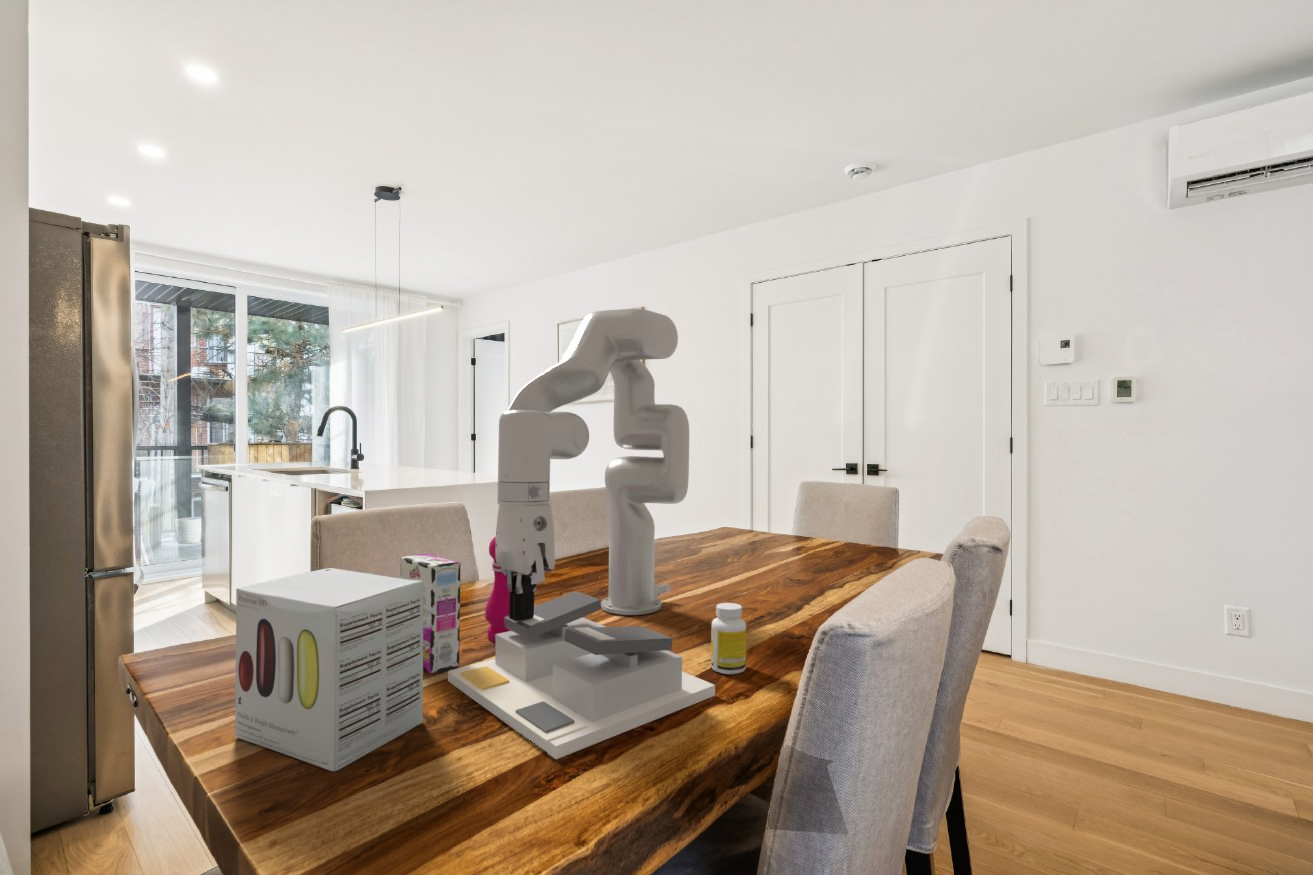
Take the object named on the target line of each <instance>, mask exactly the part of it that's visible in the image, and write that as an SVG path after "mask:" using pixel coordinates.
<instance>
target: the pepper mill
mask: <svg viewBox="0 0 1313 875" xmlns="http://www.w3.org/2000/svg"><path fill="white" fill-rule="evenodd" d="M495 545H496V536H494V537H493V538H492V539H491V541H490V543H489V546H488V553H489V555H490V557H491V558H492V560H493V561H492V562H491V570H492V571H493V576H494V579H493V580H494V582H493V588H492V591H491V593H490V596H489V598H488V600H487V602H486V606H485V609H484V610H485V611H484V617H485V620H486V621H487V623H488V624H489V626H488V628H487V639H488V640H489V641H491V642H493V643H495V634H499V633H504V632H508V631H511V630H509V629H507V628H505V623H504V617H507V616H509V592H512V591H509V590H508V581H507V576H506V575H505V574H504V573H502V571H501V566H499V565H498V564H497V562H496V554H495Z"/></svg>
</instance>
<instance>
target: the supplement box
mask: <svg viewBox="0 0 1313 875" xmlns="http://www.w3.org/2000/svg"><path fill="white" fill-rule="evenodd" d="M400 577H401V576H391V575H384V574H380V573H379V574H378V573H371V572H362V571H355V570H349V569H343V568H342V569H341V568H333V567H329V568H321V569H318V570H313V571H308V572H303V573H297V574H294V575H289V576H284V577H280V578H276V579H275V578H274V579H272V580H271V579H270V580H267V581H262V582H257V583H254V584H248V585H244V586H241V587H237V588H236V589H235V591H236V593H235V596H236V600H235V601H236V602H235V610H236V611H235V612H236V613H235V616H236V617H235V618H236V619H235V681H234V682H235V687H234V688H235V691H234V692H235V696H234V698H235V699H234V703H235V704H234V705H235V706H234V715H235V716H234V717H235V719H234V720H235V722H234V723H235V724H234V736H235V739H240V740H243V741H246V742H249V743H252V744H254V745H257V746H260V747H263V748H266V749H269V750H271V751H274V752H277V753H280V754H283V755H286V756H288V757H292V758H295V759H298V760H300V761H301V762H305V763H309V764H311V765H313V766H317V767H319V768H322V769H324V770H326V771H329V772H336V771H339V770H341V769H342V768H344V767H346V766H348V765H350V764H351V763H353V762H355V761H357V760H359V759H360V758H362V757H364V756H366V755H367V754H369V753H371V752H373V751H375V750H377V749H379V748H381V747H382V746H384V745H386V744H387V743H389V742H391V741H393V740H394V739H396V738H398V737H401V736H402V735H403V734H405V733H407V732H409V731H410V730H413V729H414V728H416V727H417V726H419V725H421V724H423V723H424V719H423V718H424V714H423V711H424V705H423V704H424V703H423V702H424V698H423V697H424V669H423V585H424V583H423V581H421V580H413V579H407V578H400Z"/></svg>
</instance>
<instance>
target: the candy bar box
mask: <svg viewBox="0 0 1313 875" xmlns="http://www.w3.org/2000/svg"><path fill="white" fill-rule="evenodd" d="M399 577H400V578H407V579H413V580H421V581H423V583H424V585H423V671H426V672H427V673H430V674H431V675H432V674H436V673H440V672H444V671H449V670H453V669H454V668H455V669H456V668H459V666H460V633H461V631H460V628H461V627H460V626H461V624H460V622H461V620H460V618H461V614H460V612H461V561H456V560H453V559H449V558H445V557H442V556H438V555H435V554H429V553H420V554H411V555H406V556H401V557H400V576H399Z"/></svg>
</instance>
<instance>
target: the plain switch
mask: <svg viewBox="0 0 1313 875" xmlns="http://www.w3.org/2000/svg"><path fill="white" fill-rule="evenodd" d="M673 639H674V638H673V637H671V636H668V635H666V634H664V633H660V632H658V631H655V630H652V629H649V628H647V627H643V626H640V625H633V626H606V627H593V628H566V632H565V639H564V641H566V642H568V643H570V644H573V645H575V646H577V647H579V648H581V649H583V650H586V651H588V652H590V653H592V654H594V655H605V654H619V653H634V652H649V651H663V650H667V651H671V650H672V648H673V641H674V640H673Z"/></svg>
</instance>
